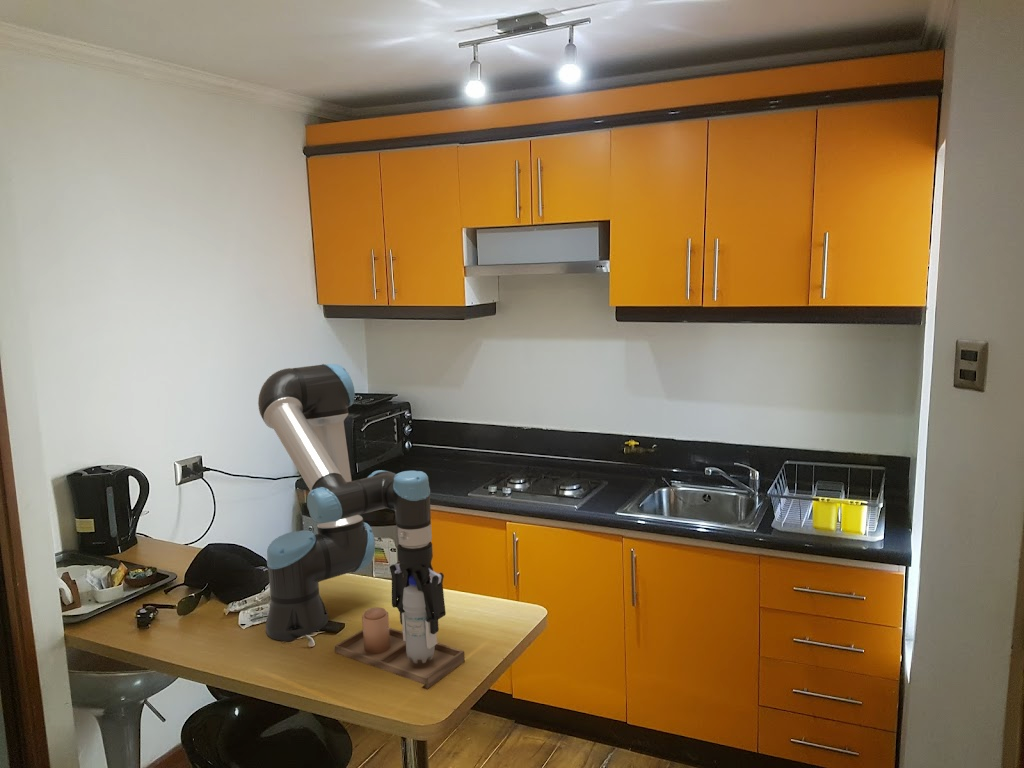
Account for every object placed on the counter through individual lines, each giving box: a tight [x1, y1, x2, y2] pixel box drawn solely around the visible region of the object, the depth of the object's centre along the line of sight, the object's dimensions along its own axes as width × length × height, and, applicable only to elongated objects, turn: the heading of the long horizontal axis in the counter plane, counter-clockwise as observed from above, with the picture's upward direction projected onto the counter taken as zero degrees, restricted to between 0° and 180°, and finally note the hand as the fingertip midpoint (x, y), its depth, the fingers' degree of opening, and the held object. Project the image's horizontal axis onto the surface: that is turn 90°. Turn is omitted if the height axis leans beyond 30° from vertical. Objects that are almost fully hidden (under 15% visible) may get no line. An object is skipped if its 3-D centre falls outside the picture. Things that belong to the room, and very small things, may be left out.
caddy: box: [334, 627, 466, 690], centre depth 173 cm, size 28×13×2 cm, turn 56°
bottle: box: [402, 576, 435, 664], centre depth 167 cm, size 7×7×20 cm
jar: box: [361, 606, 390, 654], centre depth 176 cm, size 6×6×9 cm
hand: (420, 641), depth 169 cm, fingers closed on bottle, 6 cm apart
